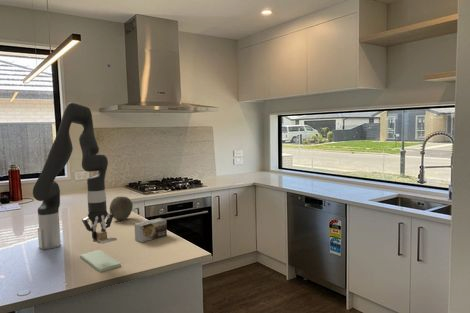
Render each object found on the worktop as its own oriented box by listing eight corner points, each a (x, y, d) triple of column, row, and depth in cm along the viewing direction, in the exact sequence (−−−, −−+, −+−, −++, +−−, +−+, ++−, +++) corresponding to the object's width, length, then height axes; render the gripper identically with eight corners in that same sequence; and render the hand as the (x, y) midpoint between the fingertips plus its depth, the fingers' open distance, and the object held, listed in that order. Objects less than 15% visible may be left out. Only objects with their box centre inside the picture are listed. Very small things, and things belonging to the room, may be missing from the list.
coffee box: (134, 240, 184) (160, 233, 195) (141, 242, 179) (167, 235, 191) (134, 223, 183) (160, 217, 195) (140, 225, 179) (166, 219, 190)
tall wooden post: (89, 242, 155) (88, 233, 155) (103, 239, 159) (102, 230, 160) (102, 243, 144) (101, 234, 144) (116, 240, 148) (115, 230, 149)
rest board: (99, 272, 144) (99, 269, 144) (80, 257, 161) (80, 254, 161) (120, 266, 150) (120, 263, 150) (99, 252, 167) (99, 249, 167)
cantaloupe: (133, 221, 220) (132, 198, 219) (109, 223, 216) (108, 199, 215) (133, 216, 234) (132, 194, 232) (110, 217, 230) (109, 195, 228)
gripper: (109, 196, 161) (111, 233, 162) (77, 201, 151) (79, 240, 153) (116, 198, 155) (118, 236, 157) (83, 204, 146) (86, 244, 147)
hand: (99, 238), depth 155 cm, fingers closed on tall wooden post, 3 cm apart
